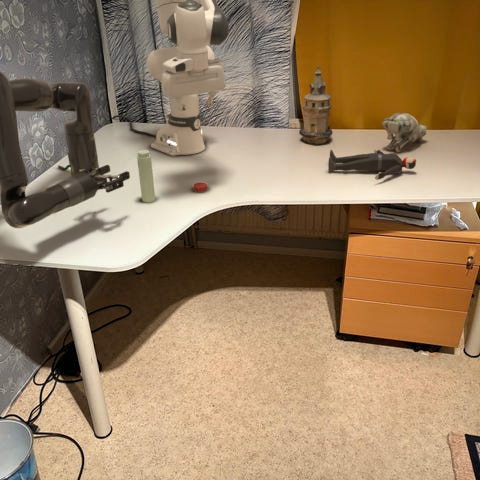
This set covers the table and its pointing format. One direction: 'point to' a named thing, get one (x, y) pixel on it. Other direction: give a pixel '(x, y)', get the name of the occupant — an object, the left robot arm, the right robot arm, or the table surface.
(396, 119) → the figurine
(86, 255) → the table surface
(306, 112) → the miniature building
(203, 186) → the lid
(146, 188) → the olive green cylinder
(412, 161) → the toy
